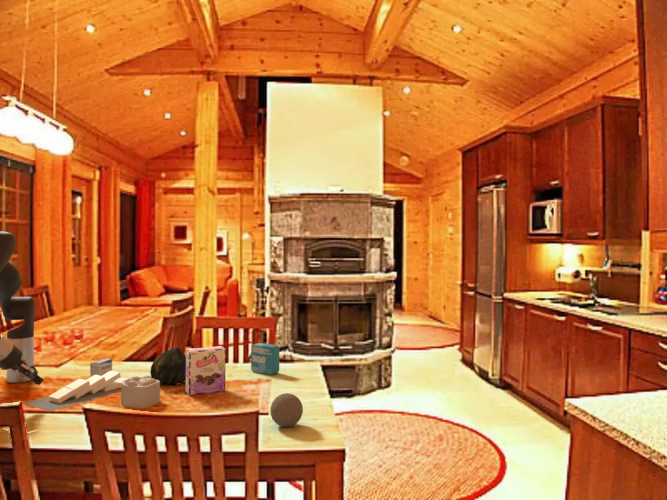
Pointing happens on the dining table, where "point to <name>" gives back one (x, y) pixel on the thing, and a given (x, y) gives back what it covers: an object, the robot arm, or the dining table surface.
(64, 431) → the dining table surface
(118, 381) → the domino
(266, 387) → the dining table surface
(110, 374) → the domino
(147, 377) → the lumpy-topped squat cylinder
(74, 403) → the mat
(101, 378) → the domino
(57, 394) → the domino
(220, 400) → the dining table surface
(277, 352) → the data package
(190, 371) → the candy box
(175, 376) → the squash
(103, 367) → the medicine box
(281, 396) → the decorative ball
